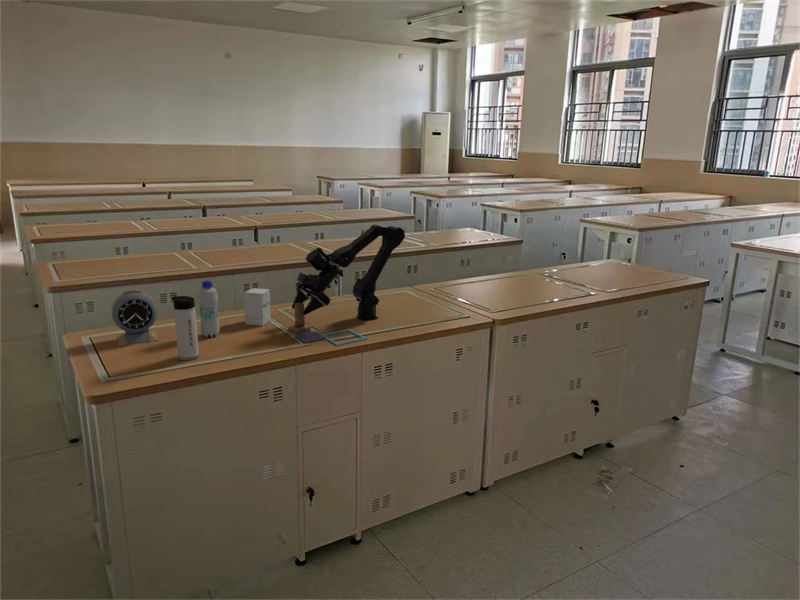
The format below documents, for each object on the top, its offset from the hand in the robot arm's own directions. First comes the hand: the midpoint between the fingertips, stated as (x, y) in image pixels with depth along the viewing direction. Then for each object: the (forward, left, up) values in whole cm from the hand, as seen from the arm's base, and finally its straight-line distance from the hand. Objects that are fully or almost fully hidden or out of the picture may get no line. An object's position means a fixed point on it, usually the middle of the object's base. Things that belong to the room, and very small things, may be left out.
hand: (297, 311), depth 207 cm
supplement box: (+8, -17, -8) cm, 20 cm away
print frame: (-10, +16, -7) cm, 20 cm away
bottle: (+28, -12, -8) cm, 32 cm away
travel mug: (+41, +5, -8) cm, 42 cm away
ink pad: (0, +10, -7) cm, 12 cm away
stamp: (-1, 0, -7) cm, 7 cm away
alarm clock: (+50, -22, -8) cm, 56 cm away
